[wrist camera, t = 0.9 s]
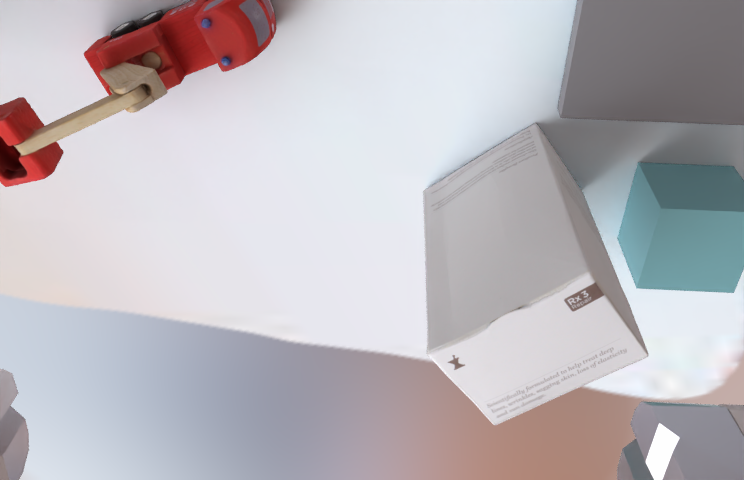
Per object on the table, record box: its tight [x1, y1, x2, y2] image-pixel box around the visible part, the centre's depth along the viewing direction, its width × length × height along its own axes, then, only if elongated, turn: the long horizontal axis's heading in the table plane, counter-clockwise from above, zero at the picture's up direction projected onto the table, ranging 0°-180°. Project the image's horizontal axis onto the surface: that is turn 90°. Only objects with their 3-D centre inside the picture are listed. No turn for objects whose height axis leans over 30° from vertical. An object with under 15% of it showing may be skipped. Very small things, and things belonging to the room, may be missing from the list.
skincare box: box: [423, 123, 648, 425], centre depth 37 cm, size 8×6×15 cm
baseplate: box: [557, 0, 744, 125], centre depth 36 cm, size 12×12×1 cm
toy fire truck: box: [0, 0, 276, 187], centre depth 35 cm, size 3×14×10 cm, turn 112°
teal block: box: [617, 162, 744, 293], centre depth 41 cm, size 6×6×5 cm
